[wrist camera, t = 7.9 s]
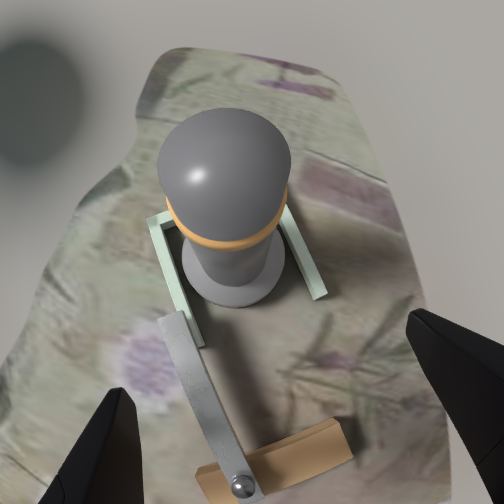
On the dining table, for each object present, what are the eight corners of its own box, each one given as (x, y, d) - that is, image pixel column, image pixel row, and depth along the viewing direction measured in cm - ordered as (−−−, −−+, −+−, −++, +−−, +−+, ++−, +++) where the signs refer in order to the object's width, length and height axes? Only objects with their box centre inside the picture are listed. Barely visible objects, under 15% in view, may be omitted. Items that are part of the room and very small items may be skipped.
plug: (298, 284, 22) (363, 210, 10) (206, 323, 21) (156, 294, 9) (259, 201, 24) (273, 69, 11) (172, 234, 23) (108, 124, 11)
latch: (264, 491, 16) (265, 503, 15) (241, 498, 16) (240, 511, 14) (184, 311, 20) (178, 308, 18) (161, 320, 19) (153, 318, 18)
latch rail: (346, 450, 19) (353, 457, 17) (215, 499, 18) (213, 510, 16) (332, 417, 20) (338, 422, 18) (198, 467, 18) (194, 476, 17)
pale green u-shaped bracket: (323, 295, 22) (327, 293, 21) (194, 349, 21) (191, 349, 20) (269, 180, 24) (270, 172, 23) (150, 225, 23) (146, 218, 22)
